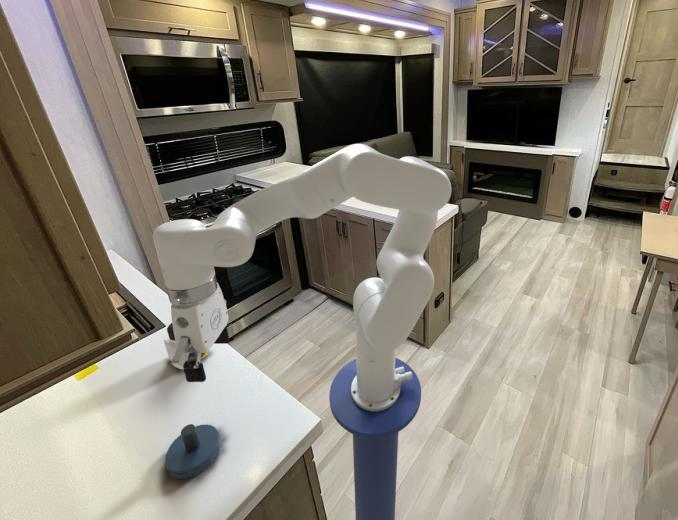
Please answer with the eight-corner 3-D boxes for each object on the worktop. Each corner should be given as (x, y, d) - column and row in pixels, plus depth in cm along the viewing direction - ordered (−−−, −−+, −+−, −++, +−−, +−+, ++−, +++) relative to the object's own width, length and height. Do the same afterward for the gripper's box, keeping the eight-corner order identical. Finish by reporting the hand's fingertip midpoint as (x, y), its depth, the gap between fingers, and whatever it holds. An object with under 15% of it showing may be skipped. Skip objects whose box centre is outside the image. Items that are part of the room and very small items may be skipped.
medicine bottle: (182, 371, 85) (171, 336, 81) (169, 360, 89) (158, 325, 84) (208, 354, 91) (200, 320, 87) (195, 344, 94) (186, 311, 90)
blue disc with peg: (223, 425, 72) (217, 402, 69) (217, 468, 64) (210, 444, 61) (174, 439, 69) (166, 416, 66) (161, 486, 61) (152, 461, 58)
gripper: (187, 318, 49) (207, 398, 55) (235, 263, 65) (246, 330, 71) (136, 319, 49) (162, 399, 55) (197, 263, 65) (212, 330, 71)
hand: (210, 360), depth 63 cm, fingers open, 9 cm apart
